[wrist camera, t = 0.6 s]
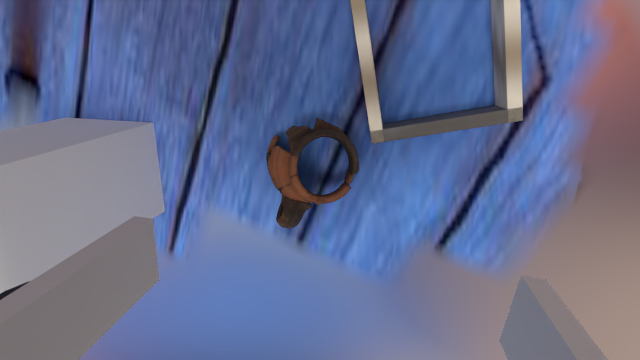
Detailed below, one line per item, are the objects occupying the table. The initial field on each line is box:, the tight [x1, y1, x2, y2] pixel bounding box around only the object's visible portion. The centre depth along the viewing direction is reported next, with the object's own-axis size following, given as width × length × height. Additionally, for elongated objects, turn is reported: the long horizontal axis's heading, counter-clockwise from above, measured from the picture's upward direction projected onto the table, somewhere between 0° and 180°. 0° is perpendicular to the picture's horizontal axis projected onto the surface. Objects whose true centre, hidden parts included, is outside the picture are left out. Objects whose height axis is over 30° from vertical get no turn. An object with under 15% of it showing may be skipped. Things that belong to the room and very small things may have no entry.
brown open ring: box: [267, 118, 359, 228], centre depth 36 cm, size 12×9×8 cm
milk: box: [0, 118, 165, 294], centre depth 31 cm, size 12×12×26 cm
